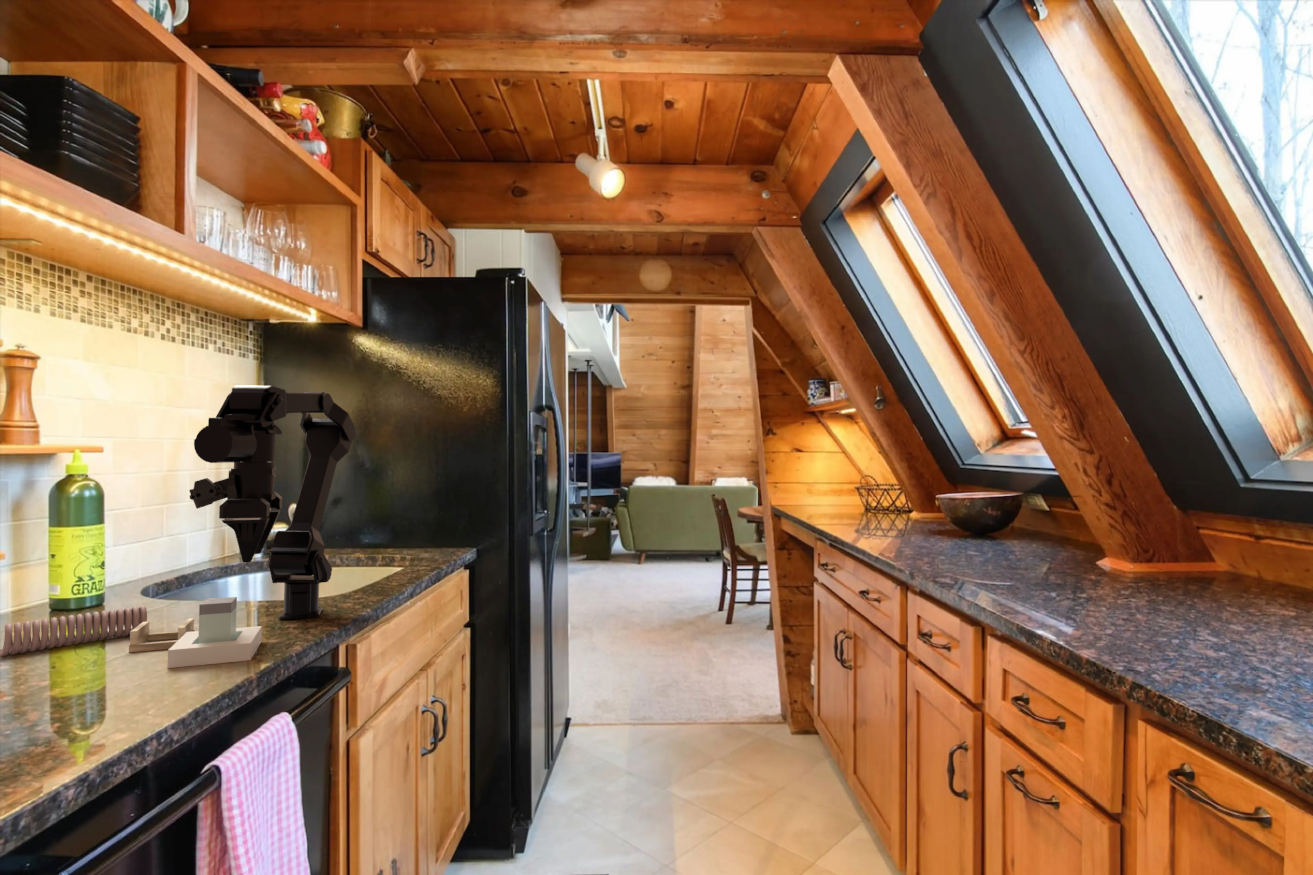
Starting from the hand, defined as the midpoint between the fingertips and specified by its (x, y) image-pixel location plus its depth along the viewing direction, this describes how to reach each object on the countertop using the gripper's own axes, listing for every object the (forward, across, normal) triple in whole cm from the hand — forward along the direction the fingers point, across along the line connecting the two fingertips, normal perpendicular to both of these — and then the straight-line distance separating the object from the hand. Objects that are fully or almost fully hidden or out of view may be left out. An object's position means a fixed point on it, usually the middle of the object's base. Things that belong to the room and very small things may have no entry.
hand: (252, 557), depth 108 cm
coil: (+14, -6, -24) cm, 29 cm away
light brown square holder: (+13, -1, -12) cm, 18 cm away
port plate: (+13, +8, -3) cm, 16 cm away
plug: (+13, +8, -3) cm, 16 cm away
